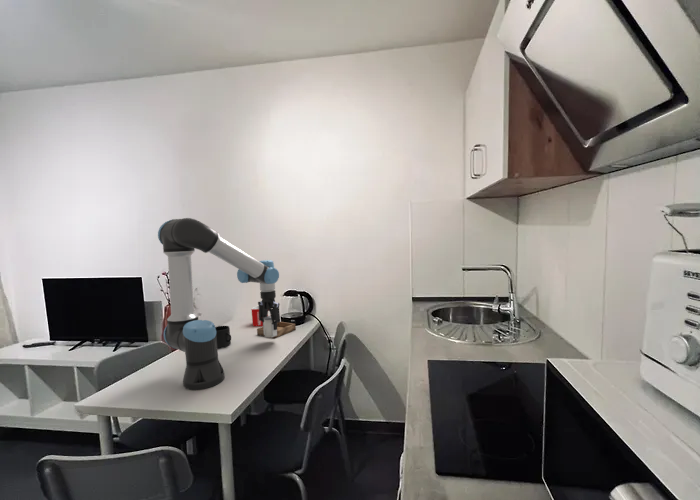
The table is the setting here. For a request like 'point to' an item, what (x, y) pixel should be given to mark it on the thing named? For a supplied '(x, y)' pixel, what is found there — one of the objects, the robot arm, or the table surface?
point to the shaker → (268, 326)
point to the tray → (279, 329)
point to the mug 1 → (223, 336)
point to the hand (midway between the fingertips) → (270, 335)
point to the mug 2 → (256, 316)
